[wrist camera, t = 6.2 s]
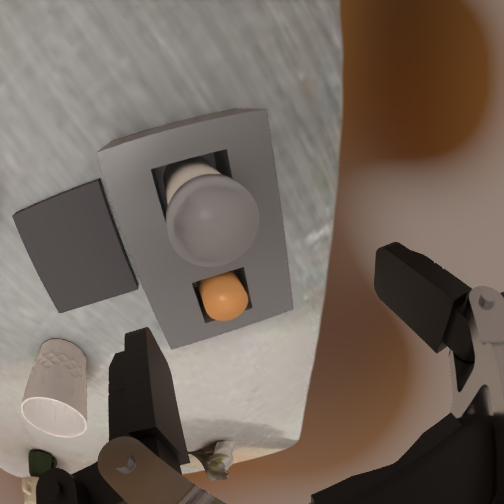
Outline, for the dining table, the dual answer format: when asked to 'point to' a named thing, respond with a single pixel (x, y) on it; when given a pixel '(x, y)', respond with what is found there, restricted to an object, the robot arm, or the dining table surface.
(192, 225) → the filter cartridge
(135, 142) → the block
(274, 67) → the dining table surface
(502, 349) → the robot arm
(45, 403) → the white cup
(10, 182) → the dining table surface
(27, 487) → the character mug
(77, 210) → the mat
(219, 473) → the artificial flower
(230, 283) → the release plunger
